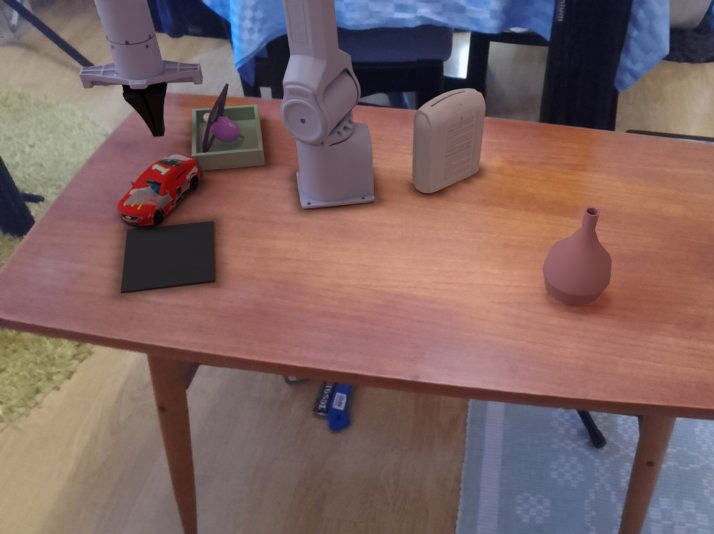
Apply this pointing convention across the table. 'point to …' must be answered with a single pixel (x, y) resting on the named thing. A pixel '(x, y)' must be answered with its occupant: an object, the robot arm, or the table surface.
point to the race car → (159, 190)
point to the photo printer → (447, 139)
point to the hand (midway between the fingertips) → (159, 132)
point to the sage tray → (229, 152)
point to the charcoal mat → (168, 256)
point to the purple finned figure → (220, 124)
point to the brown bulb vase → (578, 265)
